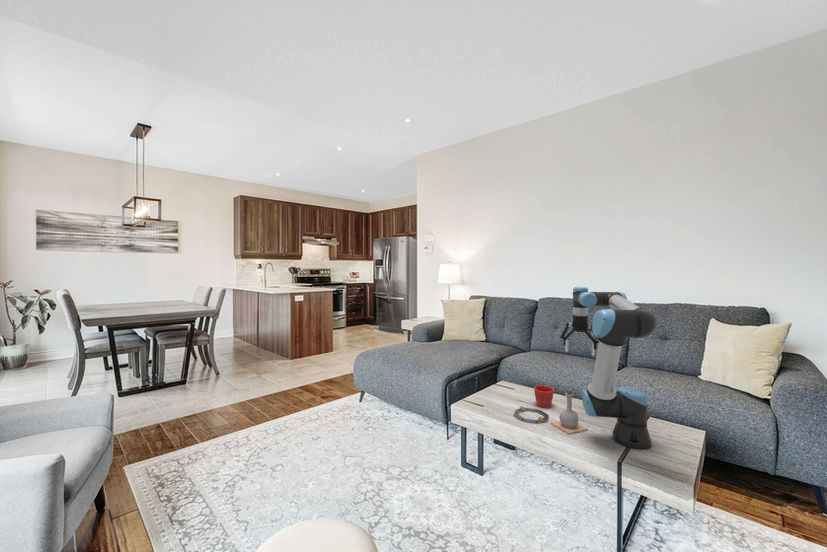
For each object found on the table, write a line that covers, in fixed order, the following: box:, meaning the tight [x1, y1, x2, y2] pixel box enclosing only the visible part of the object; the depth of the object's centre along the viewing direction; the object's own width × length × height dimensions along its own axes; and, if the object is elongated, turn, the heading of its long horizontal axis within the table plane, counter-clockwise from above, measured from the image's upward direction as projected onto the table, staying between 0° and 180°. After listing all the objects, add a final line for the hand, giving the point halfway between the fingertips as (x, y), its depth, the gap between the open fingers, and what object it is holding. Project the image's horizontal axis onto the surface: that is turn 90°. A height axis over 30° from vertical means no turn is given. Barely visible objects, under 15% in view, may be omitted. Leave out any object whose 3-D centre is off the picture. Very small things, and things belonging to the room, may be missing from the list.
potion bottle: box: [558, 389, 579, 429], centre depth 174 cm, size 9×9×18 cm
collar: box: [513, 405, 550, 425], centre depth 187 cm, size 17×17×2 cm
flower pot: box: [533, 385, 555, 409], centre depth 203 cm, size 11×11×10 cm
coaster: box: [550, 420, 589, 435], centre depth 175 cm, size 12×12×1 cm
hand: (579, 353), depth 194 cm, fingers open, 13 cm apart
